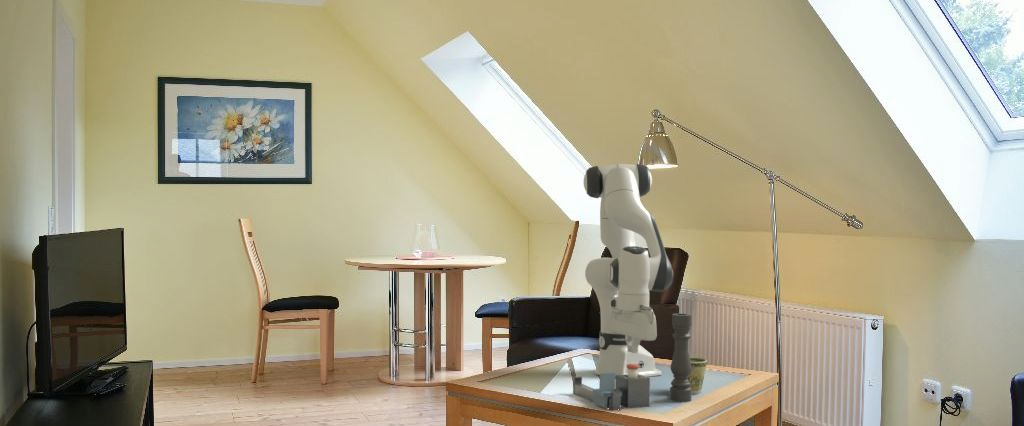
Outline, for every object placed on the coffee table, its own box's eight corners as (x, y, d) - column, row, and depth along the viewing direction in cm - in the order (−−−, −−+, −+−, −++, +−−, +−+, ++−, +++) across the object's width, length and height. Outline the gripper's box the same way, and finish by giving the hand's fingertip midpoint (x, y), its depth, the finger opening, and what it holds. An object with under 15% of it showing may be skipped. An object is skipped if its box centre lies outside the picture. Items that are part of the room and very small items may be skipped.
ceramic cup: (699, 397, 265) (700, 363, 265) (668, 392, 270) (668, 360, 270) (714, 389, 276) (714, 357, 276) (683, 385, 281) (684, 354, 281)
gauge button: (634, 383, 255) (634, 363, 255) (640, 386, 252) (641, 365, 252) (624, 384, 254) (624, 364, 254) (630, 386, 251) (630, 366, 251)
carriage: (610, 401, 254) (611, 370, 254) (621, 406, 249) (621, 374, 249) (592, 403, 252) (592, 371, 252) (602, 407, 246) (603, 375, 246)
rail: (580, 393, 268) (580, 376, 268) (620, 410, 246) (620, 392, 246) (573, 393, 267) (573, 376, 267) (612, 410, 245) (613, 392, 245)
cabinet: (636, 401, 258) (636, 373, 258) (649, 406, 251) (649, 378, 251) (615, 402, 255) (615, 375, 255) (627, 408, 248) (628, 379, 248)
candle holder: (667, 397, 263) (668, 313, 263) (687, 397, 264) (689, 313, 264) (673, 401, 257) (674, 315, 257) (693, 401, 258) (695, 315, 258)
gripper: (663, 307, 244) (661, 357, 244) (625, 300, 263) (624, 346, 263) (643, 307, 242) (642, 358, 242) (606, 300, 261) (605, 347, 261)
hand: (632, 352), depth 253 cm, fingers closed
